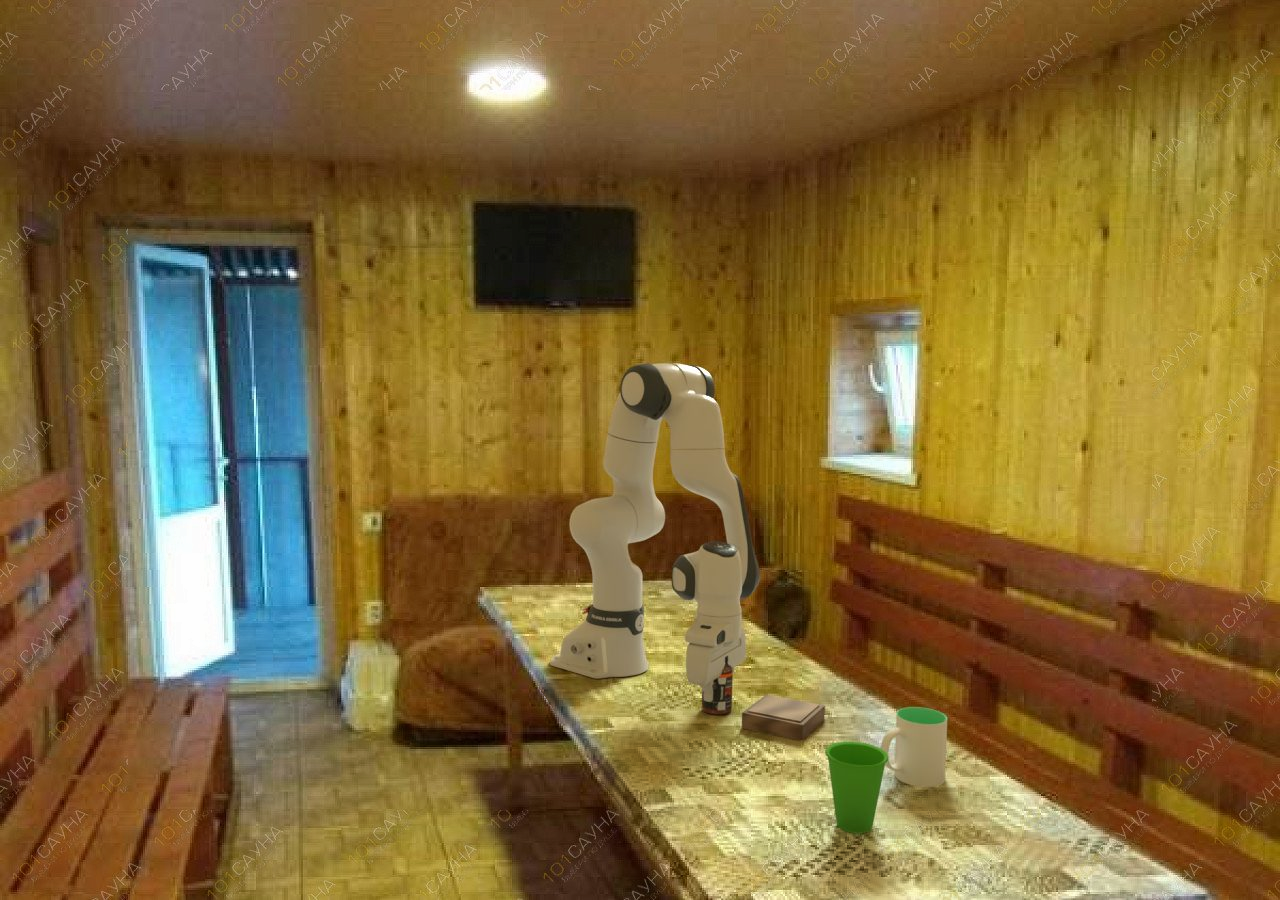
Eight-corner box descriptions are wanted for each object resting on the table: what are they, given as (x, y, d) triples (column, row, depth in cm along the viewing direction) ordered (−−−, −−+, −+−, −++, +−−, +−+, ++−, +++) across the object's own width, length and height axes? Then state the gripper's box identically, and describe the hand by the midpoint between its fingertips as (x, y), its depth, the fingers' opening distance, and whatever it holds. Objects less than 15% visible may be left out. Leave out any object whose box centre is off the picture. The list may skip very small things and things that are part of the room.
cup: (816, 812, 144) (818, 741, 143) (874, 810, 145) (876, 740, 144) (832, 841, 135) (835, 766, 134) (895, 839, 136) (897, 764, 135)
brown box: (741, 728, 178) (742, 711, 178) (766, 709, 189) (766, 692, 189) (802, 741, 172) (802, 723, 172) (824, 720, 183) (824, 704, 183)
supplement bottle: (730, 717, 184) (731, 660, 183) (699, 714, 185) (700, 657, 184) (733, 706, 190) (734, 651, 189) (703, 704, 191) (704, 649, 190)
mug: (902, 795, 150) (904, 731, 150) (866, 777, 157) (868, 715, 157) (955, 780, 156) (958, 719, 156) (918, 763, 163) (921, 704, 162)
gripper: (726, 612, 197) (724, 678, 198) (680, 635, 179) (679, 707, 180) (754, 617, 194) (753, 683, 195) (710, 640, 176) (709, 713, 177)
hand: (717, 695), depth 187 cm, fingers closed on supplement bottle, 6 cm apart
